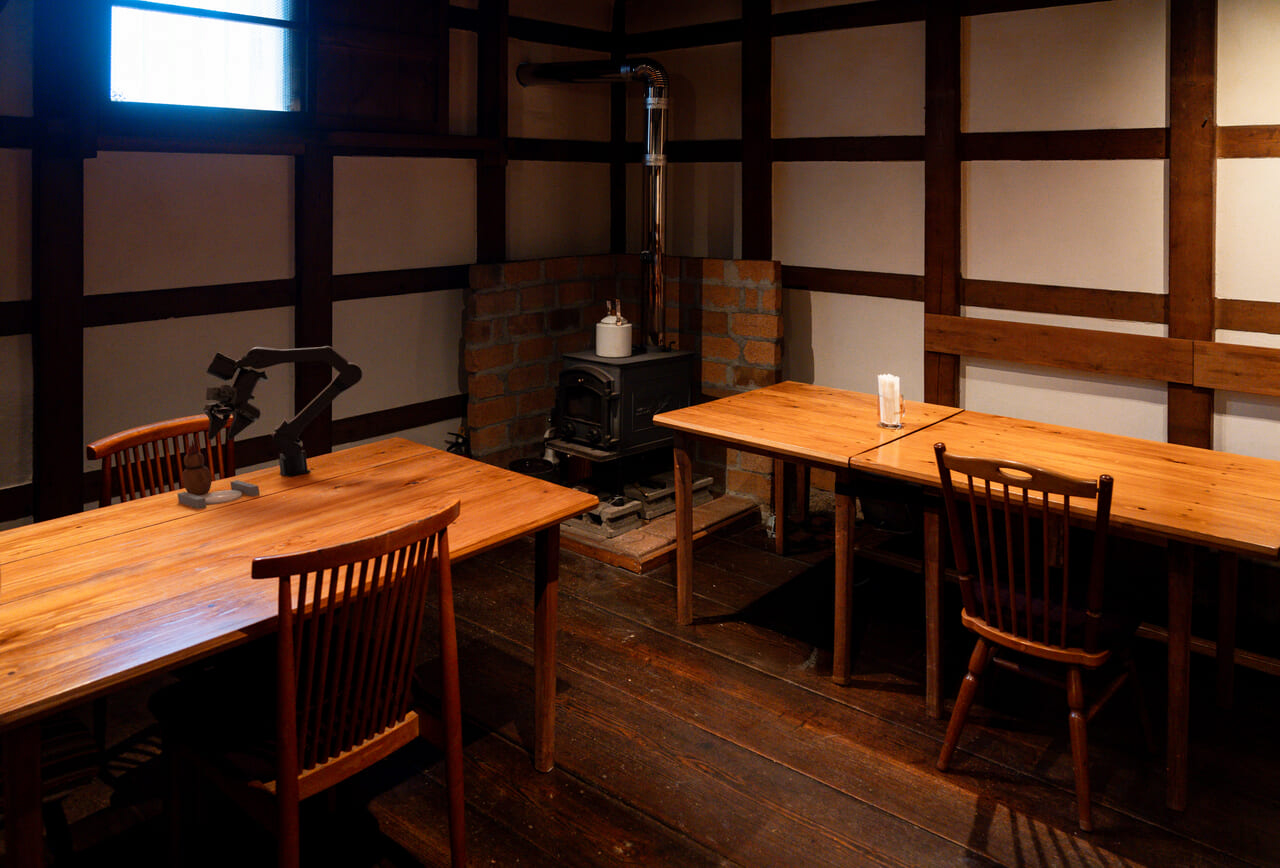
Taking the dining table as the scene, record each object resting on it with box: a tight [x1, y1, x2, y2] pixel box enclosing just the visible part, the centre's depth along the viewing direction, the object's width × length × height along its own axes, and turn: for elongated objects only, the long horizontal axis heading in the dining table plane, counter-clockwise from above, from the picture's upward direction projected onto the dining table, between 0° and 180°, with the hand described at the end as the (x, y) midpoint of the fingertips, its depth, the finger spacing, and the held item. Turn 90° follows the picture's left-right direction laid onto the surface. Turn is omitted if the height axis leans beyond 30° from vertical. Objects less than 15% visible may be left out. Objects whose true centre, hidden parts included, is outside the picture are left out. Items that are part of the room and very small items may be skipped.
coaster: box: [200, 489, 243, 505], centre depth 255 cm, size 11×11×1 cm
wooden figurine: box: [182, 437, 212, 496], centre depth 260 cm, size 7×6×15 cm
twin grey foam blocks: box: [176, 479, 260, 510], centre depth 255 cm, size 16×12×2 cm
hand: (219, 439), depth 265 cm, fingers open, 9 cm apart
